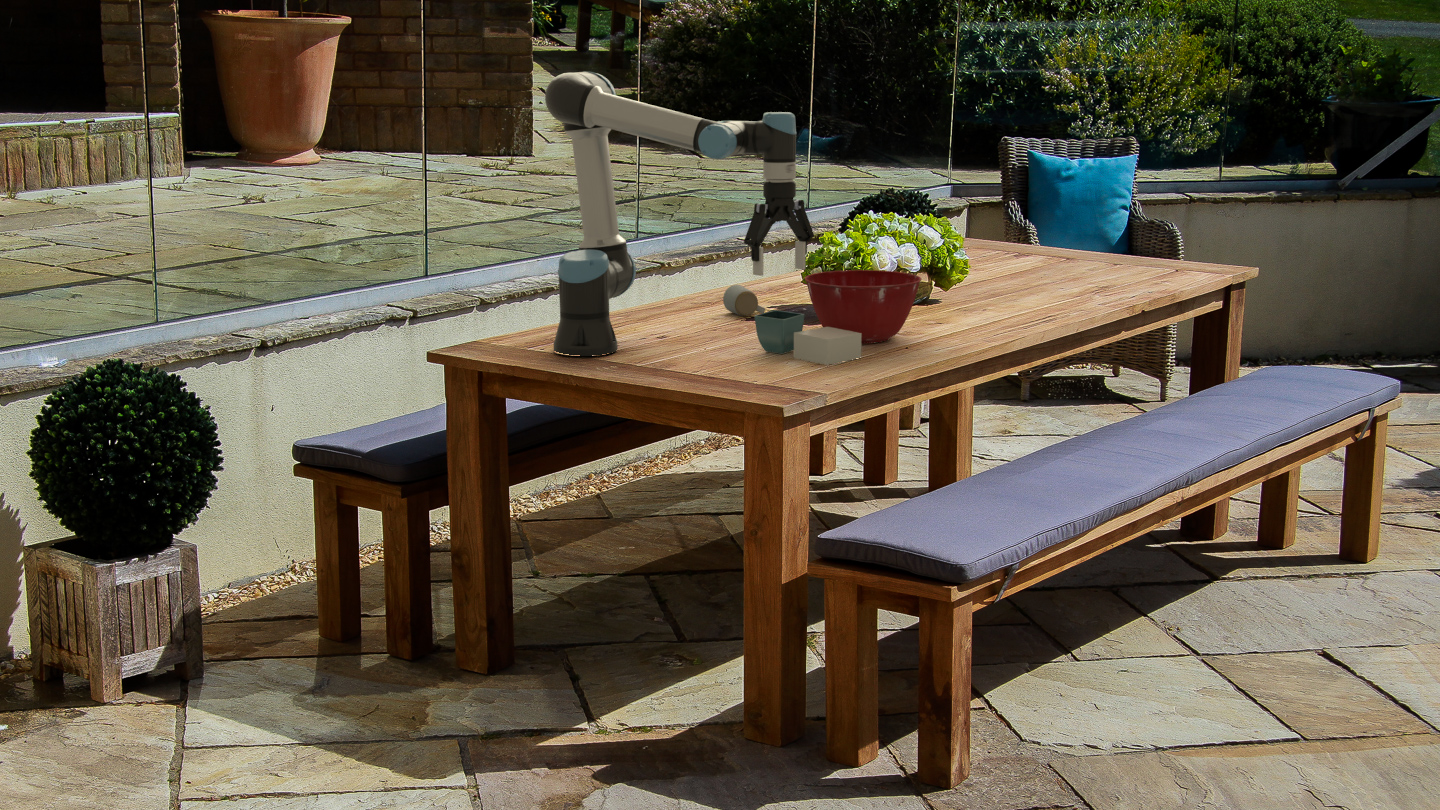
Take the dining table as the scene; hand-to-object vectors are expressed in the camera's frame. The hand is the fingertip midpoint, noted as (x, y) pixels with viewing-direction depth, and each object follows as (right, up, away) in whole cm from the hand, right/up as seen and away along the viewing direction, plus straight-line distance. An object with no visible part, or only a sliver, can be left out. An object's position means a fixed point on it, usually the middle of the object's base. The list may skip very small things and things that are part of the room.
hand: (779, 272), depth 338 cm
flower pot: (0, -19, +4) cm, 19 cm away
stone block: (+11, -20, -3) cm, 23 cm away
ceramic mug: (-7, -7, +53) cm, 54 cm away
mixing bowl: (+21, -15, +19) cm, 32 cm away
